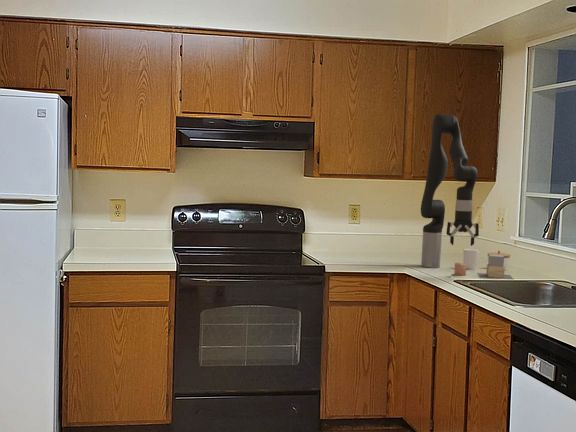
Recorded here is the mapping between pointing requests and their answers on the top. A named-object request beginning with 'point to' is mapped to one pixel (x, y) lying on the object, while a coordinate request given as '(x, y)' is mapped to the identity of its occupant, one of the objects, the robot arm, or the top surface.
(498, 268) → the maple block
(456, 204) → the robot arm
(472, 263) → the white cup
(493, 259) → the grey block
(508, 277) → the charcoal mat
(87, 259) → the top surface
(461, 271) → the terracotta cylinder
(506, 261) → the lidded jar
